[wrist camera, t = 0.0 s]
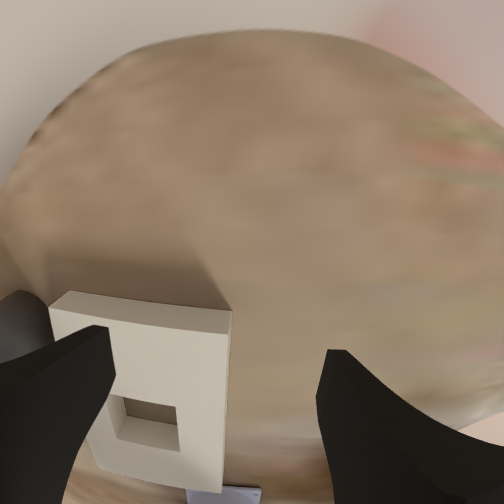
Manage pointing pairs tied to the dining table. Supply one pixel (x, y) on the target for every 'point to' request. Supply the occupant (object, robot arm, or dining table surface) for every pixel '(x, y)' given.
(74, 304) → the bore plate
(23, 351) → the round peg
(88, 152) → the dining table surface
